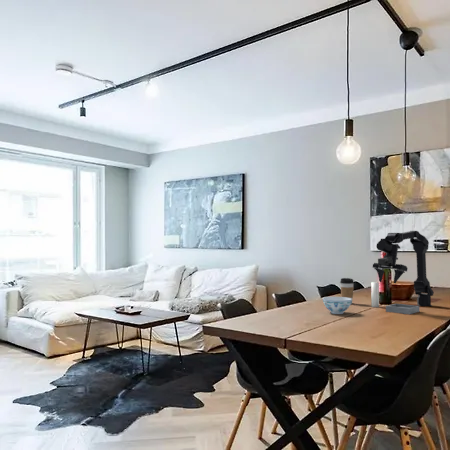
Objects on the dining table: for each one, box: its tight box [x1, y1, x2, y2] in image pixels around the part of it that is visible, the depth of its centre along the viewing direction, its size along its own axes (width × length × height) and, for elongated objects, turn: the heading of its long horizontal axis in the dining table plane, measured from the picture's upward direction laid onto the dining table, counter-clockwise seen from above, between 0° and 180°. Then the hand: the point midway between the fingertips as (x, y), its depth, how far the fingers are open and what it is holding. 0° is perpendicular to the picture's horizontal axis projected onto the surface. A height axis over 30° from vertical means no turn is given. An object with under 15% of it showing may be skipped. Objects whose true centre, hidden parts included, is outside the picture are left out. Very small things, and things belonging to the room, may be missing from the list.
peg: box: [370, 281, 380, 308], centre depth 260 cm, size 4×4×14 cm
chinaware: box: [322, 296, 353, 315], centre depth 238 cm, size 15×15×8 cm
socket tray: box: [385, 303, 420, 315], centre depth 243 cm, size 13×13×3 cm
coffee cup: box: [339, 277, 355, 305], centre depth 273 cm, size 8×8×15 cm
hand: (387, 282), depth 246 cm, fingers open, 9 cm apart
